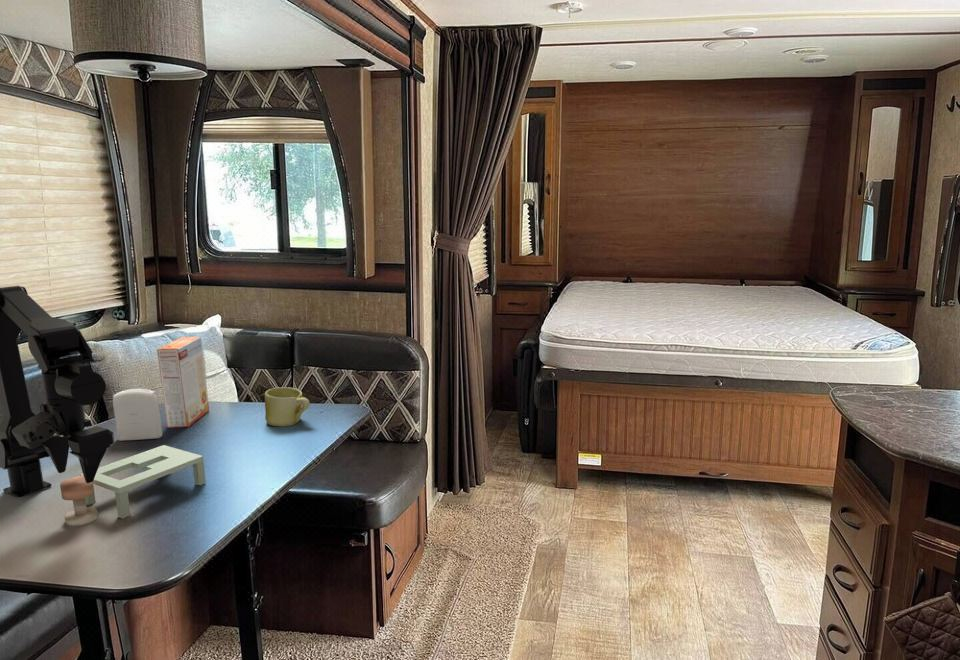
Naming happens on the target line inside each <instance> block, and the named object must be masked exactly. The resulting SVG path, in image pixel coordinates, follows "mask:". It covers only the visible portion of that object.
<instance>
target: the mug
mask: <svg viewBox="0 0 960 660" xmlns="http://www.w3.org/2000/svg"><path fill="white" fill-rule="evenodd" d="M309 407H310V400H309V399H308V398H306V397H304V395H303V392H302V391H301V390H300V389H297V388H295V387H289V386H288V387H282V386H281V387H279V386H277V387H273V388H270V389H268V390H266V391H265V392H264V408H265V409H264V410H265V415H264V416H265V422H266V423H267V425H269V426H273V427H289V426H290V427H291V426H293V425H296V424H298V423H299V421H300V420H301V417H302V415H303V413H304V412H305V411H306V410H307V409H308V408H309Z"/></svg>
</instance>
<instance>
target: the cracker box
mask: <svg viewBox="0 0 960 660" xmlns="http://www.w3.org/2000/svg"><path fill="white" fill-rule="evenodd" d="M156 353H157V359H158V366H159V375H160V381H161V390H162V396H163V404H164V405H163V406H164V412H165V419H166V426H167V429H168V428H172V429H173V428H189V427H190V426H192V425H193V424H194V423H196V421H197V420H199V419H201V417H203V416H204V415H205V414H206V413H208V412H209V411H210V403H209V395H208V394H209V393H208V388H207V387H208V385H207V379H206V378H207V377H206V370H205V361H204V352H203V343H202V337H201V336H184V337H183V336H182V337H180V338H177V339H175V340H173V341H171V342H169V343H167V344H165V345H163V346H161V347H159V348H158V349H157V350H156Z"/></svg>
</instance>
